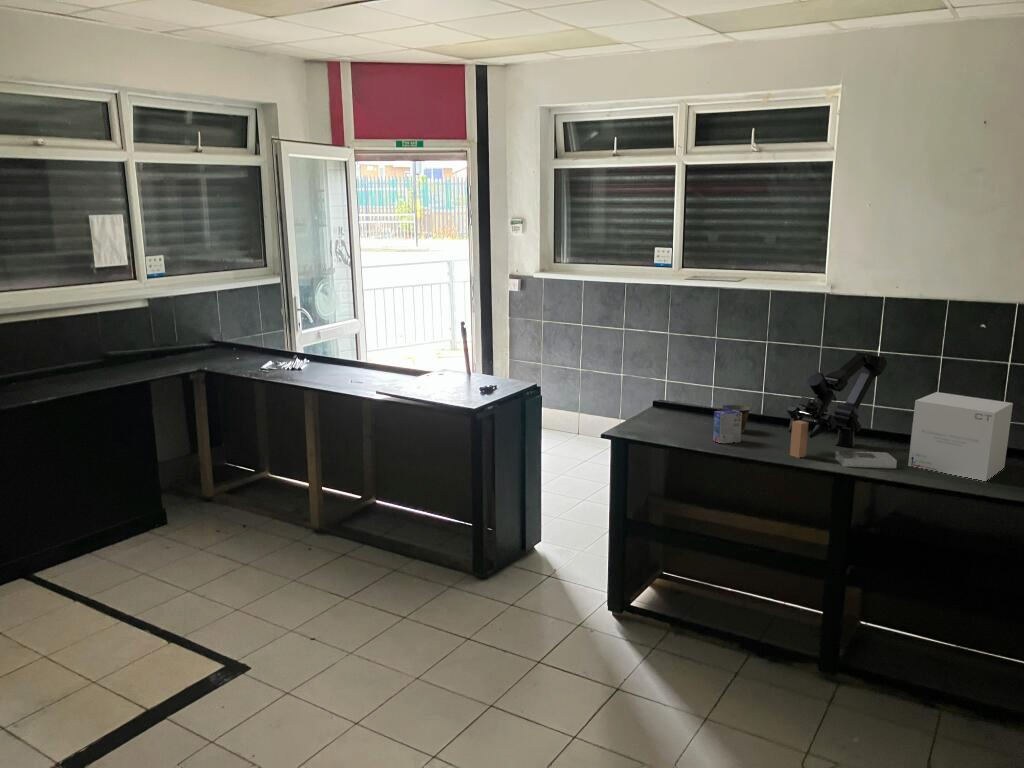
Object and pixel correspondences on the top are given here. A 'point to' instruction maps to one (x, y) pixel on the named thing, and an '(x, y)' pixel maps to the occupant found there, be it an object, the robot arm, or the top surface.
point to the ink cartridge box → (727, 425)
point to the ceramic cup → (744, 413)
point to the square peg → (799, 439)
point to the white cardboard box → (960, 435)
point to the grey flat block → (866, 459)
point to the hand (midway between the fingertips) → (799, 434)
